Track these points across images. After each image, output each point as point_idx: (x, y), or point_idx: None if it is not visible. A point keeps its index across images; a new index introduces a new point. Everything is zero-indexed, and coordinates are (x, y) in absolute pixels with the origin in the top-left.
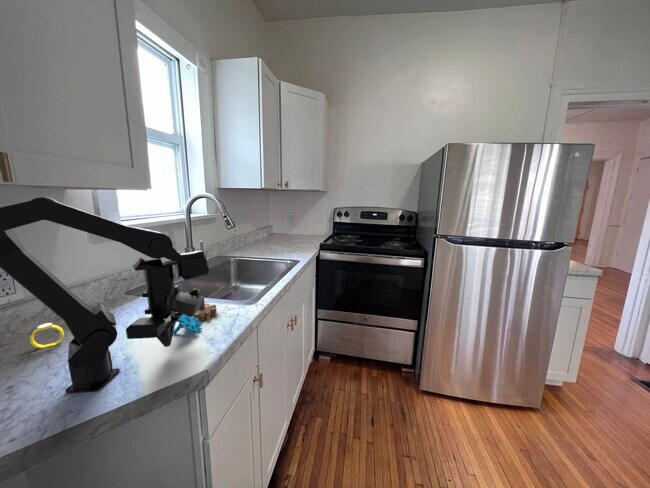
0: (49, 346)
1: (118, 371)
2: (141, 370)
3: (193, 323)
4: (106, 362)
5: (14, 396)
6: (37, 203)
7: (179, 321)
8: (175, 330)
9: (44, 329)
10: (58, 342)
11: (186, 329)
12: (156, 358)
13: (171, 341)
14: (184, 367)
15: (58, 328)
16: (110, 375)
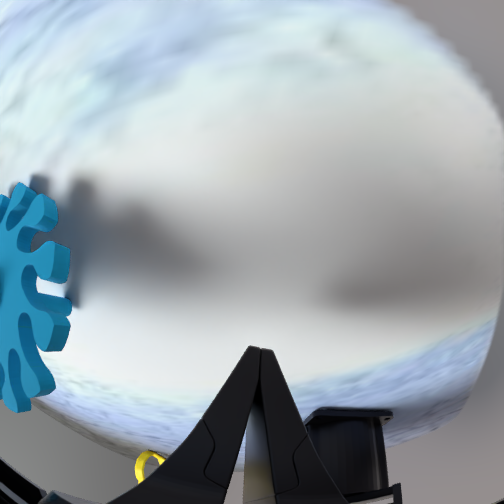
0: (159, 456)
1: (326, 411)
2: (352, 369)
3: (2, 243)
4: (355, 463)
5: None
6: None
7: (31, 345)
8: (57, 311)
9: None
10: (151, 454)
11: (62, 280)
12: (277, 347)
13: (241, 358)
14: (444, 210)
15: (142, 476)
16: (345, 419)
